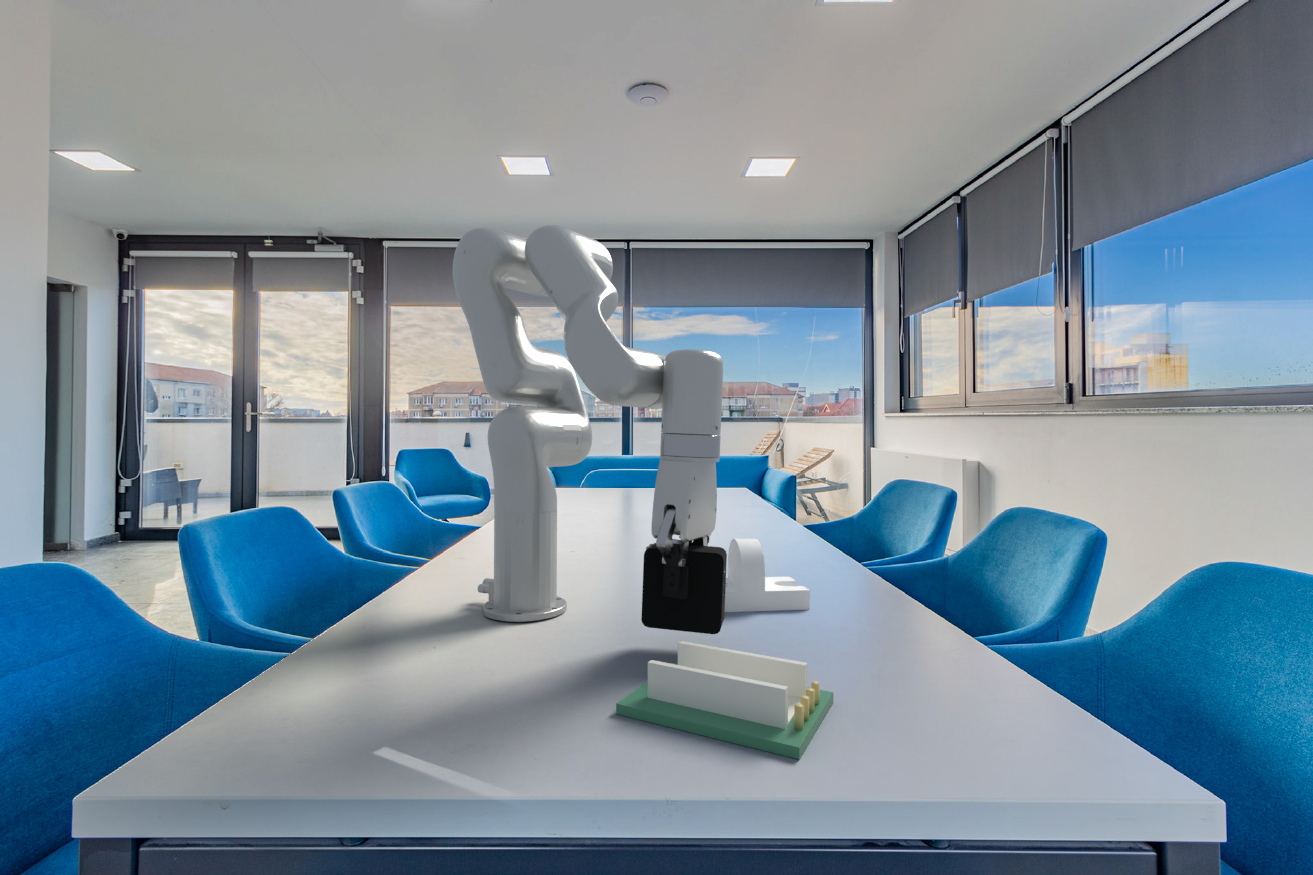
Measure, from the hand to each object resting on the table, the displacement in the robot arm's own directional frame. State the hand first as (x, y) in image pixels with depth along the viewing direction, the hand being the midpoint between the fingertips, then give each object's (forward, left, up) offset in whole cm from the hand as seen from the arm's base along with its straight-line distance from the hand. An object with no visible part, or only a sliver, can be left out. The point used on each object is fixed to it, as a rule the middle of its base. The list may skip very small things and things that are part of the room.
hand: (684, 590), depth 79 cm
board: (+11, -13, -8) cm, 19 cm away
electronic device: (0, 0, -5) cm, 5 cm away
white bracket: (-1, +25, -8) cm, 26 cm away
